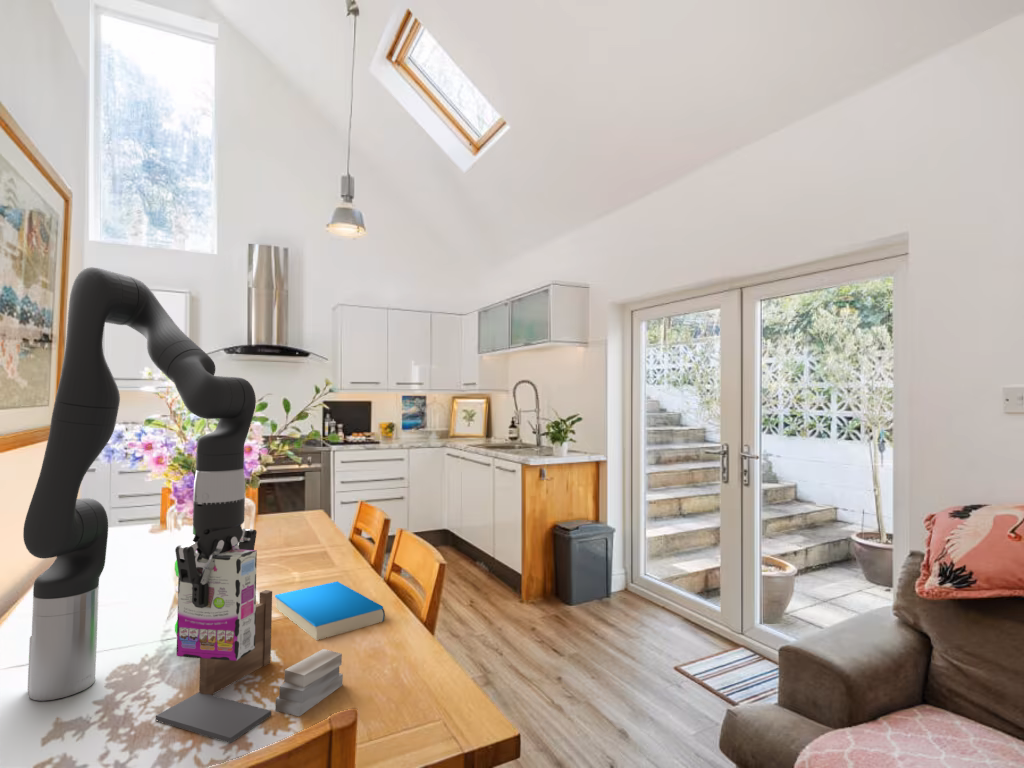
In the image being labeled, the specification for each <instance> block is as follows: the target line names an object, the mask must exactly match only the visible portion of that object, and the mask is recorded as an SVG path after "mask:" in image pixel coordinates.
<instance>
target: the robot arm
mask: <svg viewBox="0 0 1024 768" xmlns="http://www.w3.org/2000/svg"><path fill="white" fill-rule="evenodd" d="M67 310H68V313H67V326H66V338H65V346H64V347H65V348H64V354H63V362H62V365H61V366H62V367H61V372H60V378H59V382H58V386H57V391H56V395H55V400H54V405H53V409H52V414H51V420H50V425H49V426H50V427H49V434H48V437H47V443H46V447H45V452H44V456H43V460H42V464H41V469H40V472H39V476H38V479H37V482H36V485H35V489H34V491H33V495H32V498H31V500H30V503H29V506H28V509H27V512H26V516H25V520H24V523H23V531H22V532H23V533H22V534H23V536H22V537H23V542H24V545H25V546H24V547H25V548H26V550H27V551H28V552H29V554H31V556H33V557H35V558H38V559H51V558H55V560H54V562H53V563H52V564H51V565H50V566H49V567H48V568H47V569H46V570H45V571H43V572H42V573H41V574H39V575H38V576H37V577H36V579H35V581H34V582H33V583H34V584H33V588H32V589H33V591H32V596H33V597H32V621H31V622H32V623H31V636H30V637H29V646H28V647H29V648H28V649H29V650H28V668H27V670H28V671H27V673H28V674H27V691H28V697H29V699H31V700H34V701H40V702H41V701H53V700H58V699H62V698H66V697H70V696H73V695H75V694H78V693H80V692H83V691H85V690H86V689H89V687H91V686H92V685H93V684H95V681H96V665H97V664H96V663H97V648H98V647H97V644H98V643H97V641H98V618H99V617H98V615H99V613H98V612H99V593H100V591H99V589H100V585H99V583H100V577H101V575H102V573H103V572H104V568H105V564H106V558H107V557H106V556H107V547H108V546H107V545H108V537H109V536H108V535H109V518H108V514H107V511H106V509H105V507H104V506H103V504H102V503H101V502H99V501H98V500H96V499H94V498H89V497H81V498H78V495H79V491H80V489H81V488H80V487H81V484H82V481H83V480H84V477H85V476H86V474H87V472H88V470H90V467H91V466H92V465H93V463H94V462H95V461H96V460H97V458H98V456H99V455H100V454H101V453H102V452H103V450H104V449H105V447H106V446H107V444H109V442H110V439H111V438H112V436H113V434H114V431H115V427H116V424H117V418H118V413H119V407H120V402H121V401H120V400H121V396H120V395H121V394H120V391H119V388H118V385H117V382H116V380H115V378H114V376H113V373H112V371H111V369H110V367H109V365H108V362H107V360H106V358H105V354H104V353H105V352H104V347H103V342H104V341H103V340H104V339H103V338H104V329H105V325H106V323H107V324H113V325H118V326H127V327H129V328H131V329H133V330H135V331H136V332H137V333H139V334H140V335H142V336H143V337H145V339H146V349H147V353H148V357H149V358H150V360H151V362H152V363H153V364H154V366H156V368H158V369H159V371H161V372H162V374H164V375H165V376H166V377H167V378H168V379H169V380H170V381H171V382H172V383H173V384H174V386H175V388H176V390H177V392H178V394H179V395H180V398H181V400H182V402H183V404H184V406H185V408H186V409H187V410H188V412H190V413H191V414H193V415H195V416H197V417H199V418H201V419H208V420H215V419H217V420H218V422H217V424H216V428H215V430H213V431H212V432H209V433H206V434H204V435H201V436H200V437H198V440H197V442H196V459H195V460H196V461H195V465H196V467H195V477H194V483H193V500H192V501H193V505H192V507H193V509H192V511H193V512H192V527H193V526H194V528H195V531H196V534H195V535H194V537H193V539H192V541H191V542H188V543H187V544H185V545H183V544H182V545H177V546H176V547H175V550H174V552H175V557H176V560H177V565H178V571H179V578H180V581H181V582H186V583H191V584H192V603H193V604H194V606H195V607H198V608H204V607H207V606H208V583H207V581H208V578H209V575H210V572H211V570H213V569H214V568H215V557H216V556H217V555H219V554H220V553H223V552H226V551H230V550H232V551H233V550H238V549H241V550H255V544H256V539H257V530H256V529H251V528H242V524H244V523H245V510H246V509H245V507H246V506H245V505H246V504H245V503H246V478H245V477H246V476H245V469H244V468H245V443H246V440H247V437H248V435H249V432H250V428H251V424H252V421H253V418H254V413H255V411H256V403H257V402H256V401H257V400H256V399H257V398H256V392H255V390H254V387H253V385H252V384H251V383H250V382H249V381H248V380H247V379H246V378H242V377H236V376H224V375H223V376H222V375H221V376H220V375H218V376H217V375H216V374H215V373H216V364H215V362H214V361H213V359H212V357H211V356H209V355H208V354H207V353H206V352H205V351H204V350H203V349H202V348H201V347H199V345H197V344H196V343H195V342H194V341H193V340H192V339H191V338H190V337H189V336H188V335H186V334H185V332H183V330H182V329H181V328H180V327H179V326H178V325H177V324H176V322H175V321H174V320H173V318H172V317H171V315H169V313H168V312H167V311H166V310H165V308H164V307H163V306H162V304H161V303H160V301H159V300H158V298H157V297H156V296H155V295H154V293H153V292H152V290H151V289H150V288H149V287H148V286H147V285H146V284H145V283H144V282H142V281H141V280H139V279H138V278H135V277H132V276H128V275H124V274H121V273H117V272H114V271H111V270H106V269H105V268H104V269H103V268H100V267H93V266H92V267H90V266H89V267H86V268H84V269H83V270H81V271H80V272H79V273H78V274H77V275H76V277H75V279H74V281H73V283H72V286H71V290H70V294H69V301H68V309H67ZM196 550H197V553H196ZM195 556H196V557H195ZM199 556H201V557H202V558H204V559H207V560H208V562H207V563H201V562H200V561H199ZM201 568H203V571H202V574H201ZM200 574H201V576H200Z"/></svg>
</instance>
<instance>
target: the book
mask: <svg viewBox="0 0 1024 768" xmlns="http://www.w3.org/2000/svg"><path fill="white" fill-rule="evenodd" d="M274 597H275V609H276V608H277V609H278V610H279V611H278V610H277V609H276V610H277V611H278V612H279V613H281V612H282V613H283V614H284V615H283V614H282V613H281V614H282V615H283V616H284V617H286V616H287V617H288V618H289V620H290V621H291V622H292V621H293V622H292V623H294V625H296V624H297V625H298V626H297V625H296V626H297V627H298V628H300V629H301V630H302V629H303V631H304V632H305V633H306V634H307V635H308V636H310V637H311V638H312V639H314V640H315V641H319V639H320V640H323V639H326V637H327V638H330V637H333V636H337V635H340V634H344V633H348V632H351V631H354V630H355V631H356V630H358V629H362V628H365V627H369V626H372V625H375V624H378V623H379V622H380V623H383V622H384V620H385V616H386V614H385V609H384V606H383V605H381V604H379V603H377V602H375V601H374V600H372V599H370V598H368V597H367V596H365V595H363V594H361V593H359V592H357V591H355V590H353V589H352V588H351V587H349V586H346V585H344V584H343V583H341V582H339V581H334V582H333V581H332V582H328V583H323V584H320V585H314V586H310V587H305V588H301V589H297V590H292V591H288V592H287V591H286V592H282V593H278V594H274ZM287 617H286V618H287ZM288 618H287V619H288Z"/></svg>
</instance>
